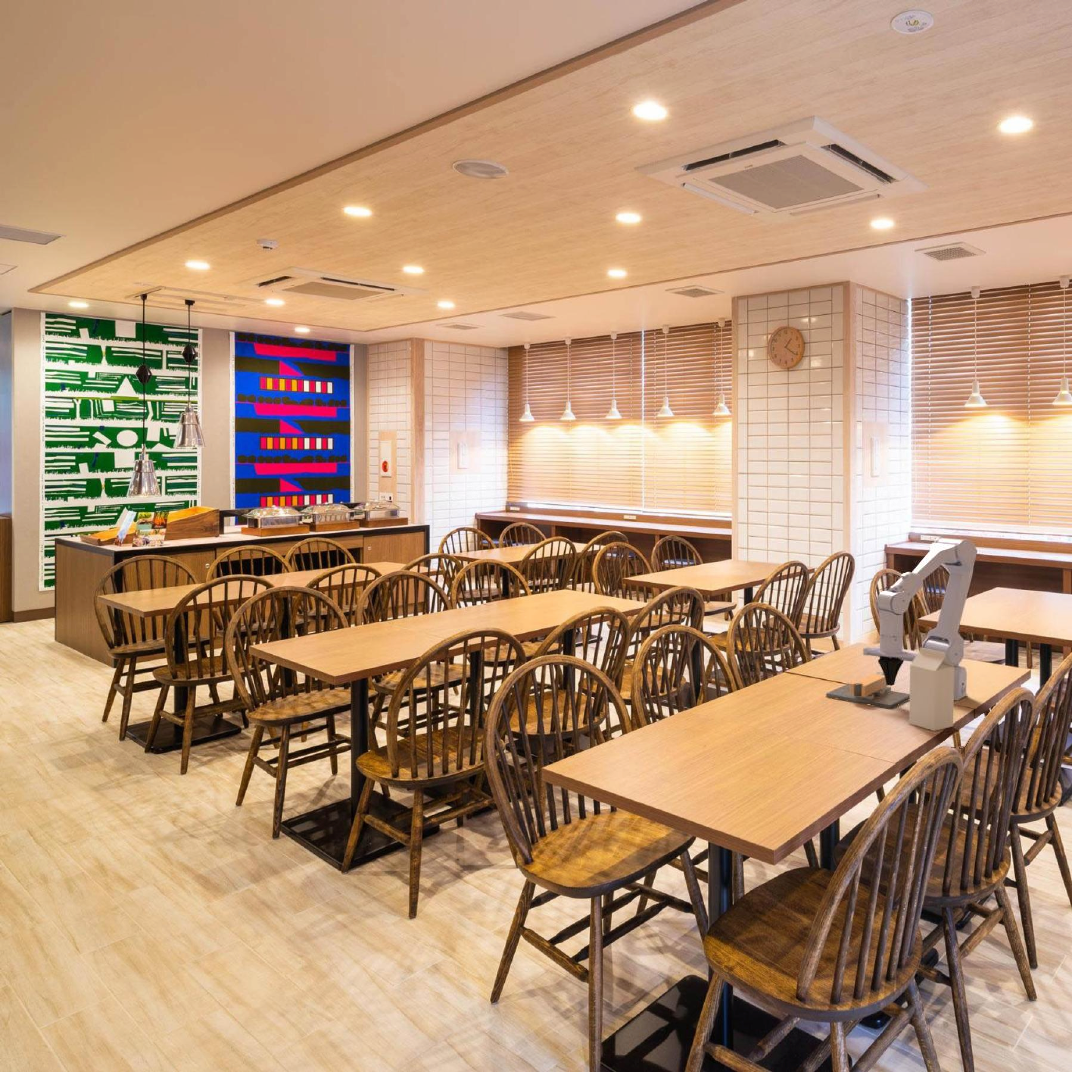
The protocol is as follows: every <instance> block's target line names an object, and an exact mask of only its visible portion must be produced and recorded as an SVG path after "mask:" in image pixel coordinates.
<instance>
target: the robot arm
mask: <svg viewBox="0 0 1072 1072" xmlns="http://www.w3.org/2000/svg"><path fill="white" fill-rule="evenodd" d="M977 553H978V550H977V547H976V546H975V544H974V542H973V541H972V540H970V539H969V538H963V539H960V538H959V539H958V538H947V537H943V536H941V537H937V538H936V539H935V540H934V542H932V543H931V544H930V545H929V552H927V554H926V555H925V556H924V557H923V559H922V560H921V561H920V562H919V563H918V565H917V566H916V567H915V568H914V569H913V570H912V572H910V571H907V572H905V573H902V574H901V575H900V577H899V578H898V580H897V581H895V582H894V584H892V585H891V586H890V587H889V589H888V590H884V591H882V592H880V593H879V594H878V596H877V598H876V600H875V601H874V603H875V606H876V609H877V611H878V616H879V623H880V624H879V647H870V646H866V647H863V649H862V651H863V652H862V654H863V656H871V657H878V658H879V659H878V660H877V661H878V662H877V663H878V664H879V666H880V668H881V670H882V672H883V673H884V676H885V679H886V684H887V685H888V686H889V687H892V686H894V685H895V683H896V678H897V676H898V673H899V671H900V668H901V667H902V665H903V664H904V661H905V662H911V663H912V662H913V660H914V659H915V657H916V656H917V655H918V653H912V652H908V651H904V650H903V644H904V643H903V642H904V641H903V639H904V638H903V637H904V613H905V612H907V611H908V609H909V607H910V602H912V601H911V600H912V598H914V596H916V594H917V593H919V592H920V590H921V589H922V588H923V586H924V580H925V579H926V578H927V577H928V576H930V575H931V574H932V573H933V572H934V571H935V570H937V568H939V567H940V566H941V565H943V567H944V568H946V569H947V571H948V572H949V577H948V581H947V585H946V589H945V593H944V596H943V599H942V604H941V608H940V612H939V616H938V619H937V624H936V627H935V628H933V629H931V630H929V631H928V632H927V635H926V638H925V639H924V640H923V642H922V645H921V648H925V649H930V650H935V651H939V652H944V653H946V654H945V657H946V658H947V659H948V661H949V662H950V663H951V664H952V665H953V666H954V701H960V700H961V699H963V698H964V697H966V696H968V693H967V669H966V667H965V666H960V665H959V664H960V663H961V662H962V660H963V659H964V653H965V652H964V644H965V640H964V639H963V637H962V636H961V635H960V633H959V628H960V624H961V620H962V616H963V613H964V609H965V605H966V601H967V597H968V593H969V589H970V585H971V581H972V578H973V573H974V565H975V562H976V559H977V557H976V556H977Z"/></svg>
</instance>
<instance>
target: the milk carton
mask: <svg viewBox="0 0 1072 1072" xmlns="http://www.w3.org/2000/svg"><path fill="white" fill-rule="evenodd" d="M917 654H918V655H917V656H916V657H915V659H914V660H913V662H911V663H910V664H909V666H910V667H909V694H910V699H909V715H908V716H909V718H908V720H909V723H908V724H910V725H913V726H917V727H920V728H924V729H927V730H929V729H930V731H933V732H934V731H939V730H943V729H944V730H945V729H948V728H951V727H954V701H955V700H954V666H953V665H952V664H951V663H950V662H949V661H948V659H947V658H946V657H945V654H946V653H944V652H939V651H935V650H930V649H925V648H922V647H919V652H918V653H917Z"/></svg>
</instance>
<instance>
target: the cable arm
mask: <svg viewBox="0 0 1072 1072" xmlns="http://www.w3.org/2000/svg"><path fill="white" fill-rule="evenodd" d="M850 684H851V694H852V695H855V696H863V697H866V696H868V695H870V694H872V693H874V692H876V691H878V690H880V689H882V688H884V687H889V685H887V684H886V679H885V676H884V673H883V671H882V672H876V673H871V674H869V675H867V676H864V677H862V678H860V679H858V680H856V681H852V682H851V683H850Z"/></svg>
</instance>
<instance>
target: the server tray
mask: <svg viewBox="0 0 1072 1072" xmlns="http://www.w3.org/2000/svg"><path fill="white" fill-rule="evenodd" d="M825 695H826V698H830V697H832V698H831V699H835V698H838V699H837V700H842V701H846V700H848V701H847V702H851V701H853V702H852V703H856V704H857V703H858V704H862V703H863V704H862V705H867V704H870V705H869V706H872V705H873V707H878V706H879V707H878V708H883V707H885V709H890V710H891V709H893V708H895V707H898V706H899V705H901V704H903V703H905V702H907V701H909V700H910V693H907V692H906V693H904V692H899V691H893V690H892V686H886V687H884V688H882V689H880V690H878V691H876V692H874V693H872V694H870V695H868V696H866V697H863V696H855V695H852V694H851V683H847V684H844V685H842V686H840V687H838V688H835V689H833V690H831V691H828V692H826V693H825ZM908 699H909V700H908ZM906 700H907V701H906ZM904 701H905V702H904ZM898 704H899V705H898Z"/></svg>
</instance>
